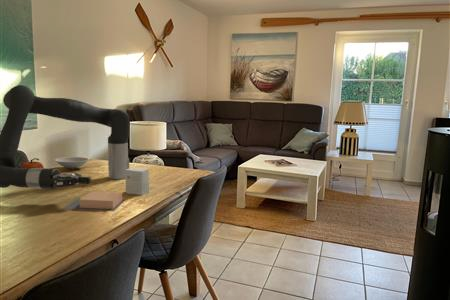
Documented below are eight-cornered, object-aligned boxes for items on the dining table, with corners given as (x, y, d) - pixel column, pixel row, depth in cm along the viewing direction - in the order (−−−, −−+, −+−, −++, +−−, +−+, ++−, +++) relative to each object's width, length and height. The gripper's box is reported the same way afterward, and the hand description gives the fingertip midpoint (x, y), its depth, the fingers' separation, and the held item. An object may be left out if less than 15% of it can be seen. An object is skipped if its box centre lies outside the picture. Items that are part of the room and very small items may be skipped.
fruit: (28, 176, 168) (27, 155, 167) (48, 176, 168) (47, 156, 166) (16, 181, 159) (15, 159, 157) (37, 181, 159) (35, 160, 157)
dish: (49, 171, 180) (49, 161, 180) (62, 165, 195) (61, 156, 194) (83, 171, 180) (83, 162, 180) (93, 166, 195) (93, 157, 194)
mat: (62, 210, 122) (61, 208, 122) (78, 199, 135) (78, 197, 135) (114, 212, 122) (113, 210, 122) (125, 201, 135) (125, 199, 134)
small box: (149, 193, 147) (149, 168, 145) (142, 196, 141) (142, 171, 140) (133, 190, 149) (132, 166, 147) (125, 194, 144) (125, 169, 142)
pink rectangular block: (79, 199, 123) (112, 200, 123) (91, 191, 133) (122, 193, 133) (79, 208, 124) (113, 209, 123) (91, 199, 133) (122, 200, 133)
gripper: (32, 172, 120) (81, 174, 120) (52, 164, 133) (96, 166, 133) (33, 193, 122) (82, 195, 121) (53, 183, 135) (97, 185, 134)
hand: (89, 180), depth 127 cm, fingers closed
